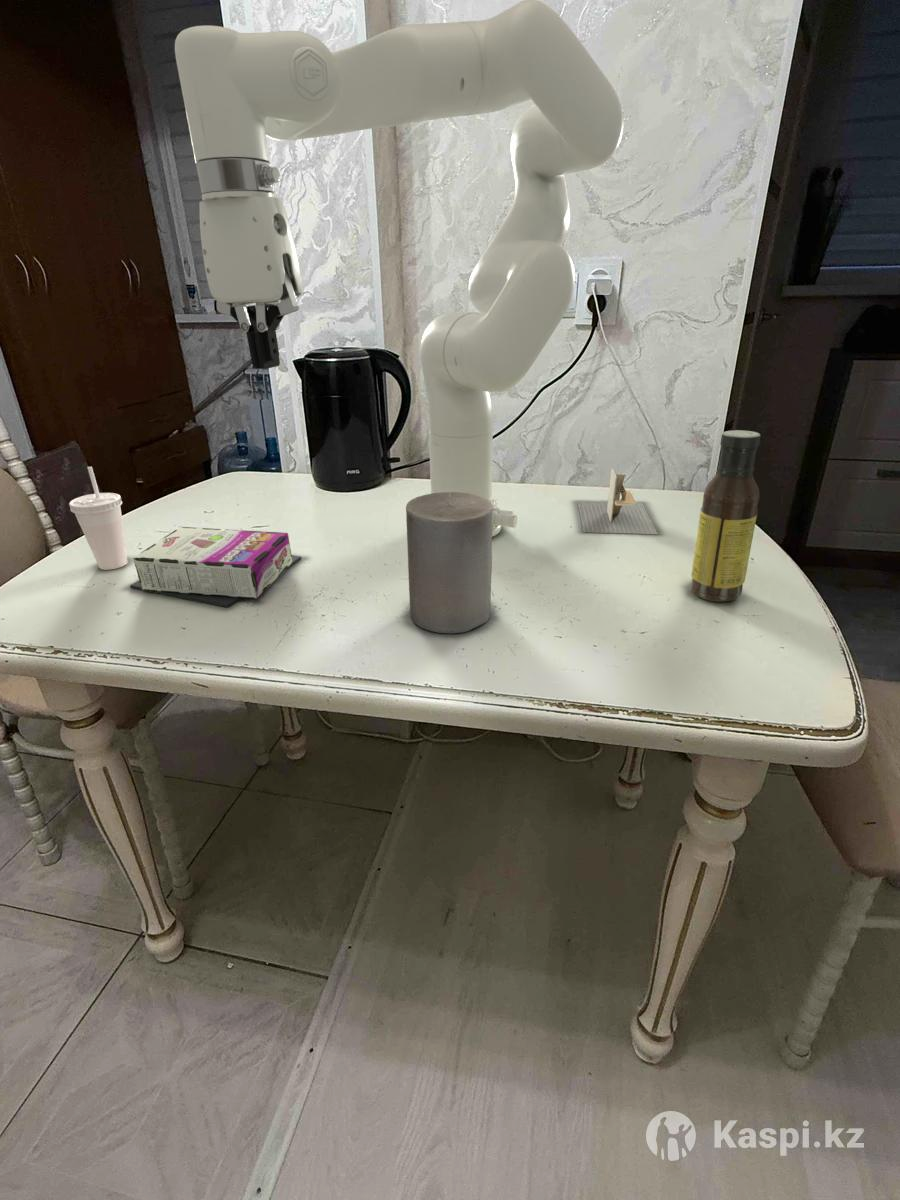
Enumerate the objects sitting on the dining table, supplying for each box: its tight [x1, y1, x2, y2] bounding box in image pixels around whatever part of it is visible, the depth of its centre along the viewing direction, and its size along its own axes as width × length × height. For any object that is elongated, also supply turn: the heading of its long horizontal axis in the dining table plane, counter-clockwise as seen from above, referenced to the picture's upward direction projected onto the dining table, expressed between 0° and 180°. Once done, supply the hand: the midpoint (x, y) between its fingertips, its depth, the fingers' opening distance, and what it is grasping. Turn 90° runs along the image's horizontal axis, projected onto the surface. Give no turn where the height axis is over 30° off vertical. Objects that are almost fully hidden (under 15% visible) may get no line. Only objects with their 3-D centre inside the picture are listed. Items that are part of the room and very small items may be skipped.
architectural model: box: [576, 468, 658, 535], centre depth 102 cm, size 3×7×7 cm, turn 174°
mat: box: [129, 554, 302, 608], centre depth 86 cm, size 16×16×1 cm
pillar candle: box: [405, 492, 494, 634], centre depth 71 cm, size 10×10×15 cm
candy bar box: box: [132, 526, 293, 600], centre depth 83 cm, size 11×5×16 cm
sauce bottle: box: [690, 429, 761, 602], centre depth 74 cm, size 6×6×20 cm
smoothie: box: [68, 466, 128, 571], centre depth 86 cm, size 6×6×14 cm
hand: (266, 366), depth 75 cm, fingers closed
